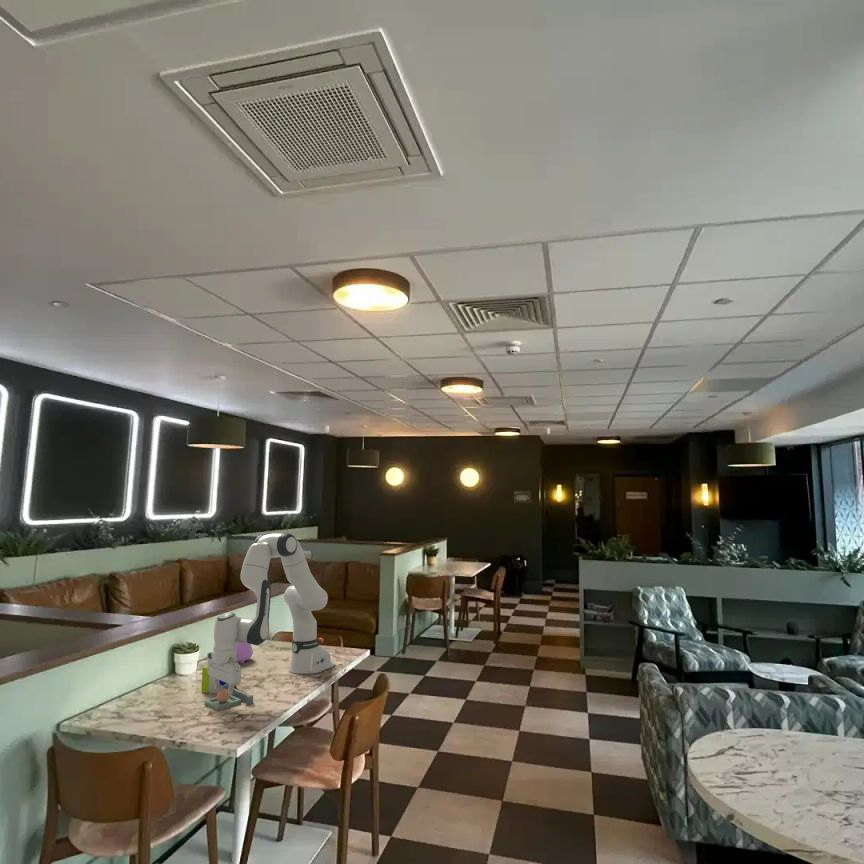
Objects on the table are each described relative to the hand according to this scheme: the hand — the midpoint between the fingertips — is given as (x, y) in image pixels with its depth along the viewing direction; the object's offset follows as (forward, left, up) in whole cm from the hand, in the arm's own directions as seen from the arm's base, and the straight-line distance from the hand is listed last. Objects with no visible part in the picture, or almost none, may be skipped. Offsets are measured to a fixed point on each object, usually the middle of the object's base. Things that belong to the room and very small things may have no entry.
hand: (223, 691), depth 224 cm
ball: (0, 0, -2) cm, 2 cm away
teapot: (-34, -48, -5) cm, 59 cm away
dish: (0, 0, -5) cm, 5 cm away
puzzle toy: (-8, -18, -5) cm, 20 cm away
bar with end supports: (-7, -1, -5) cm, 8 cm away
